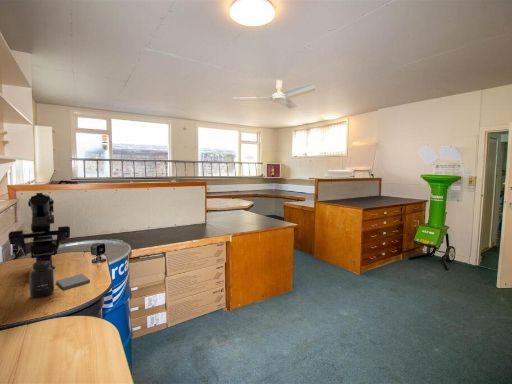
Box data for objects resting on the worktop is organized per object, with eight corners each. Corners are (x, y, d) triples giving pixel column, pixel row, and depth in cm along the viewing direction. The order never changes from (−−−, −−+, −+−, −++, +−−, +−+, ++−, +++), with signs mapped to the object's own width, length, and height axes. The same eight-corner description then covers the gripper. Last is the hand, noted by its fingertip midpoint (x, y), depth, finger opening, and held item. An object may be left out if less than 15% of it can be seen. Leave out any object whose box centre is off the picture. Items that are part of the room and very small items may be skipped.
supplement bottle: (40, 300, 91) (39, 267, 90) (25, 297, 92) (23, 265, 91) (59, 291, 97) (57, 260, 96) (44, 289, 99) (42, 258, 98)
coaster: (56, 282, 104) (56, 280, 104) (81, 276, 111) (81, 273, 111) (63, 289, 99) (63, 287, 98) (89, 281, 106) (89, 279, 106)
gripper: (7, 210, 97) (5, 246, 89) (68, 206, 108) (71, 238, 100) (11, 227, 103) (9, 261, 96) (68, 222, 115) (71, 252, 107)
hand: (41, 253), depth 100 cm, fingers open, 9 cm apart
